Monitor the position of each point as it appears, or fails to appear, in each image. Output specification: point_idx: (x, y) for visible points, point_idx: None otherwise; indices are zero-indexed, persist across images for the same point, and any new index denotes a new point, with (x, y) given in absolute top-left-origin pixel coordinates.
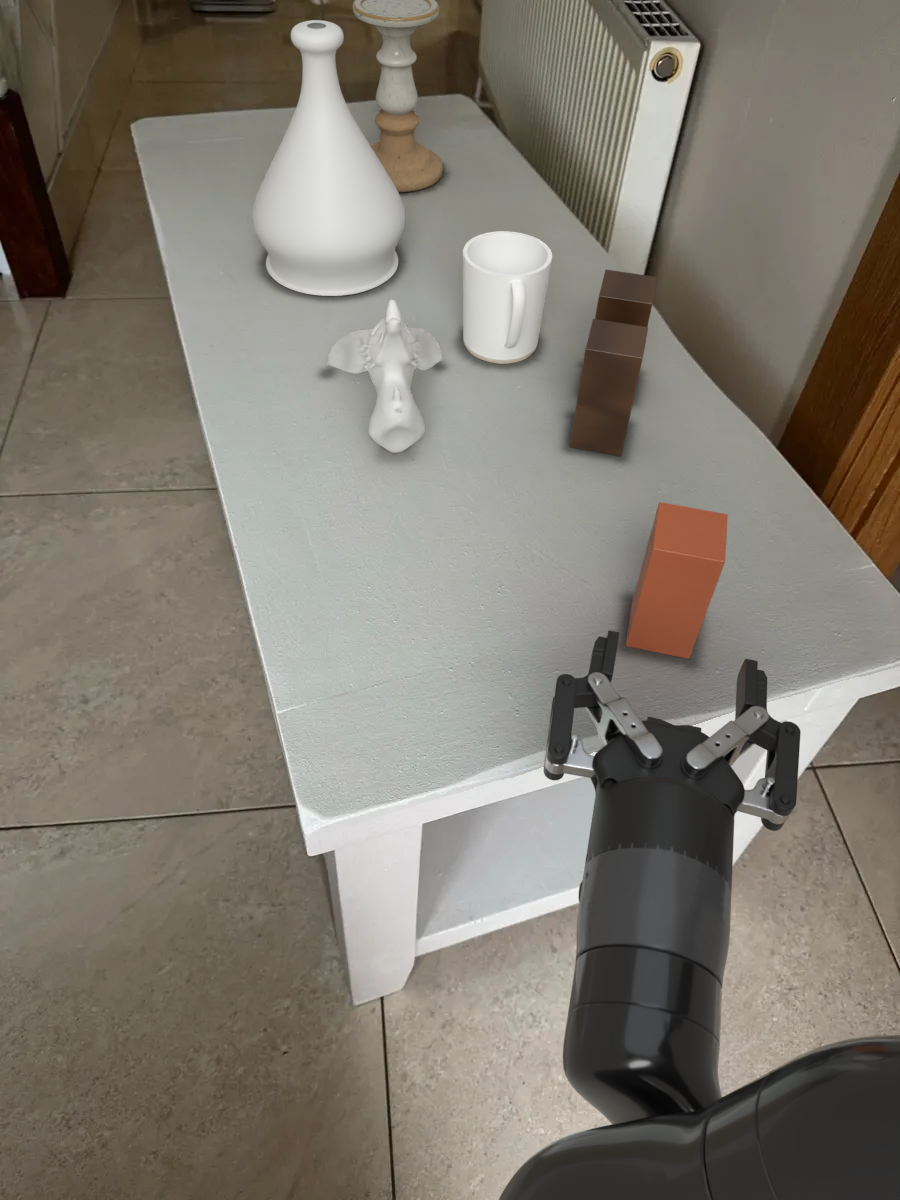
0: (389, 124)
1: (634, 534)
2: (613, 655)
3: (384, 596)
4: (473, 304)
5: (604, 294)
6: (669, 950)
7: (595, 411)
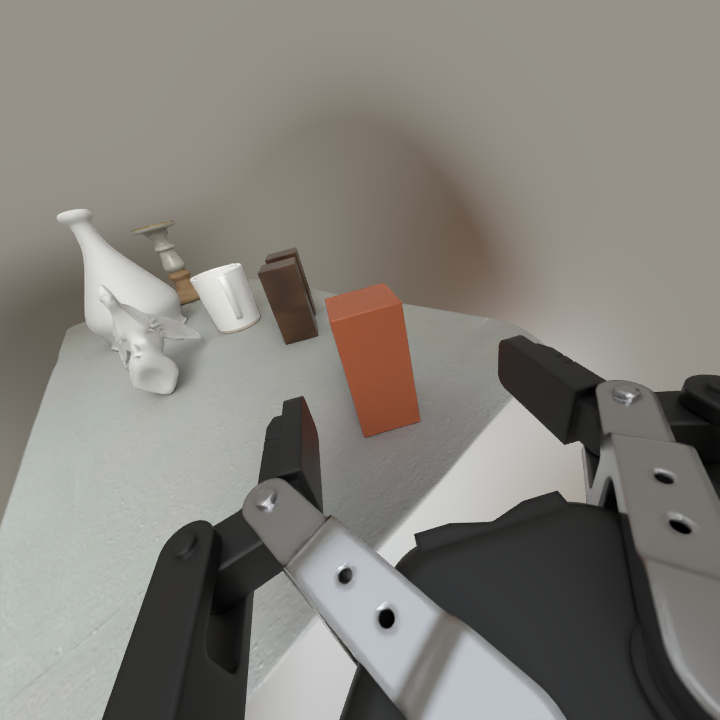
0: (174, 276)
1: (340, 365)
2: (296, 432)
3: (136, 504)
4: (207, 303)
5: (267, 259)
6: None
7: (287, 313)
